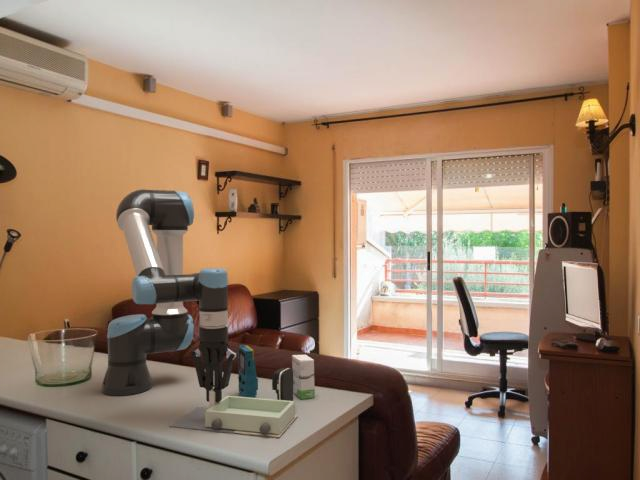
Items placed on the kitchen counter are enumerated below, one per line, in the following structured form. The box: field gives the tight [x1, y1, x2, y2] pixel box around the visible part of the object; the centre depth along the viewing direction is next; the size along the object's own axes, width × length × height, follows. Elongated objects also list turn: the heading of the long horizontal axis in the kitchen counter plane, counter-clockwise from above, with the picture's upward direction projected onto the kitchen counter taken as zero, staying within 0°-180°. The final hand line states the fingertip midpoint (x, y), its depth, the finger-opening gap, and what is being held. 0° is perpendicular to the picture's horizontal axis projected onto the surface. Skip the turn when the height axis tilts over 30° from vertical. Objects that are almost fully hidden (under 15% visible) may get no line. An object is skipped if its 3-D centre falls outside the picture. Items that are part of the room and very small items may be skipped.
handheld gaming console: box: [237, 344, 259, 398], centre depth 156 cm, size 10×4×15 cm, turn 23°
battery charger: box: [271, 367, 294, 401], centre depth 145 cm, size 7×4×11 cm, turn 155°
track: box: [169, 406, 298, 439], centre depth 135 cm, size 30×15×1 cm, turn 75°
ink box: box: [291, 354, 316, 400], centre depth 158 cm, size 9×5×12 cm, turn 20°
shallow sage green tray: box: [205, 395, 296, 435], centre depth 134 cm, size 20×15×4 cm
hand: (214, 413), depth 136 cm, fingers closed
